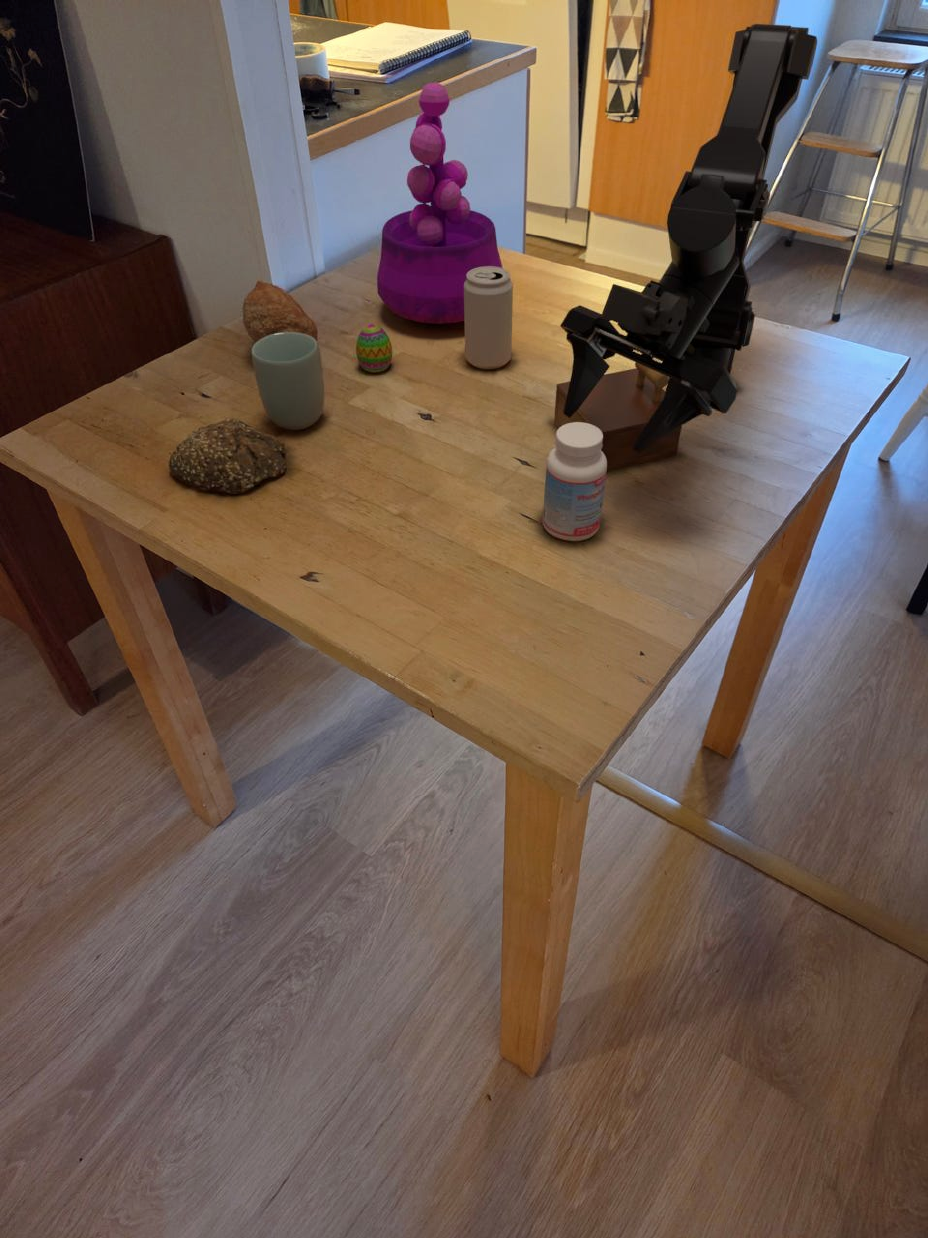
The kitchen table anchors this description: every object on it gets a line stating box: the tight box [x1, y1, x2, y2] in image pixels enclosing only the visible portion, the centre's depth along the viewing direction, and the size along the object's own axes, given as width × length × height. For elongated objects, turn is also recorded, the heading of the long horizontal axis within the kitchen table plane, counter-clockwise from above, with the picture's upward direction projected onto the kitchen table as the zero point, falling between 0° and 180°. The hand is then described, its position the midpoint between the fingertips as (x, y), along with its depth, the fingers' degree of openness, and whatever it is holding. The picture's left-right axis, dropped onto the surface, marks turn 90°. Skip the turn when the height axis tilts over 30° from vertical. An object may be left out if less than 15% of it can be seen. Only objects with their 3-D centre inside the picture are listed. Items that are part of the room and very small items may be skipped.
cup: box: [250, 332, 326, 431], centre depth 103 cm, size 8×8×10 cm
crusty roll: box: [242, 279, 318, 344], centre depth 115 cm, size 10×13×10 cm
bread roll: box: [168, 417, 287, 495], centre depth 98 cm, size 13×12×5 cm
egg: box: [355, 323, 393, 374], centre depth 114 cm, size 5×5×6 cm
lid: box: [555, 362, 669, 436], centre depth 98 cm, size 11×12×4 cm
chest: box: [553, 388, 683, 472], centre depth 101 cm, size 11×12×5 cm
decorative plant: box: [376, 82, 503, 325], centre depth 118 cm, size 19×18×30 cm
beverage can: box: [463, 266, 514, 370], centre depth 113 cm, size 6×6×12 cm
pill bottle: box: [542, 422, 608, 542], centre depth 86 cm, size 6×6×11 cm
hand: (599, 433), depth 85 cm, fingers open, 9 cm apart
